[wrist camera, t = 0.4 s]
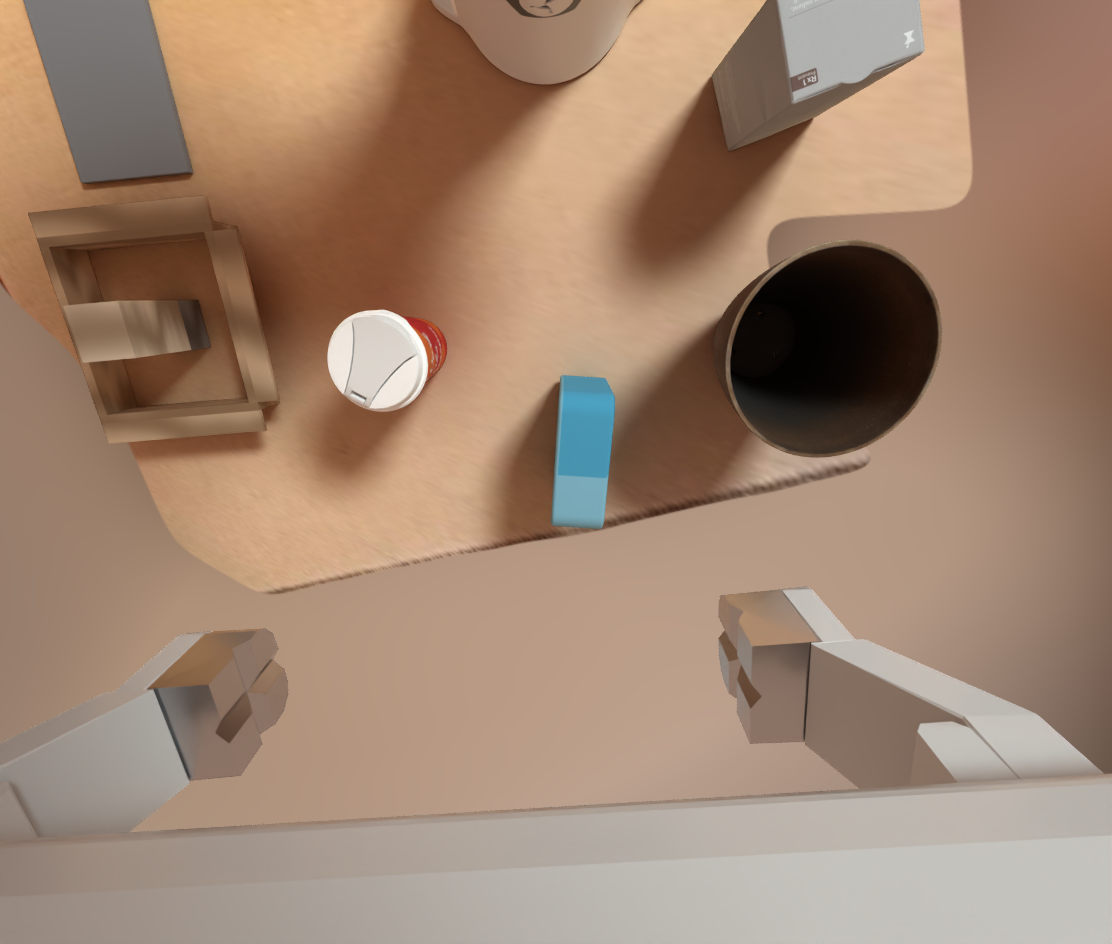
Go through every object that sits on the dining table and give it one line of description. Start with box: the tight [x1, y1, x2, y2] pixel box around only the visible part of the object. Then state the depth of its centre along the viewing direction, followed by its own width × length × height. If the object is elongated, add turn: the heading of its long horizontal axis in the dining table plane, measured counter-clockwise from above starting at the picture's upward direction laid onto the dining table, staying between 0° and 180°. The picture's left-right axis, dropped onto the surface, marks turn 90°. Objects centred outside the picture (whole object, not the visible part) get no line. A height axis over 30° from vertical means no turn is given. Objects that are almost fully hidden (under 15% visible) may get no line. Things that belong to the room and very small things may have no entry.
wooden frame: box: [28, 195, 280, 444], centre depth 51 cm, size 21×18×4 cm
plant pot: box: [713, 240, 942, 457], centre depth 45 cm, size 15×15×16 cm
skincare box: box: [712, 0, 924, 151], centre depth 39 cm, size 8×7×16 cm
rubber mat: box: [23, 0, 193, 184], centre depth 47 cm, size 14×10×1 cm
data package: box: [551, 375, 615, 529], centre depth 51 cm, size 12×4×12 cm, turn 176°
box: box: [63, 300, 211, 363], centre depth 49 cm, size 4×4×10 cm
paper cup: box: [327, 310, 447, 412], centre depth 47 cm, size 8×8×14 cm
